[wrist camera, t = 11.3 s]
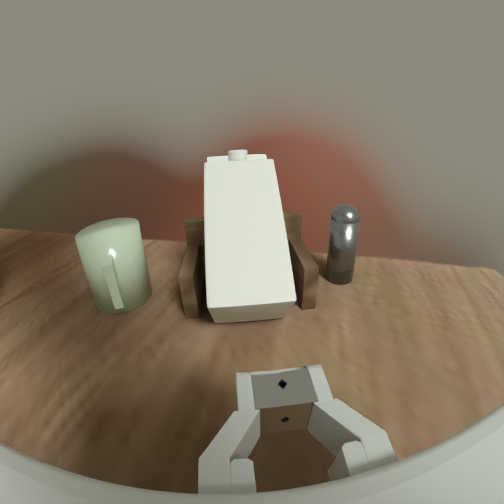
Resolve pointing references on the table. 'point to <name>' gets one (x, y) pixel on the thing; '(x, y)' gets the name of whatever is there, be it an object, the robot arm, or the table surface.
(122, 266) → the sage mug
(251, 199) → the milk carton
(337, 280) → the grey shaker
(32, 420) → the table surface
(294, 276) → the walnut holder
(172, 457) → the table surface
